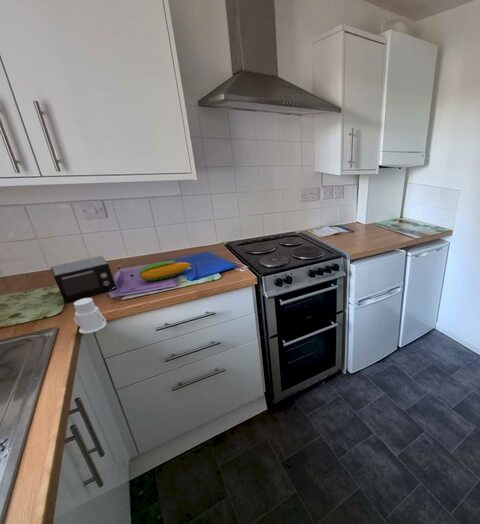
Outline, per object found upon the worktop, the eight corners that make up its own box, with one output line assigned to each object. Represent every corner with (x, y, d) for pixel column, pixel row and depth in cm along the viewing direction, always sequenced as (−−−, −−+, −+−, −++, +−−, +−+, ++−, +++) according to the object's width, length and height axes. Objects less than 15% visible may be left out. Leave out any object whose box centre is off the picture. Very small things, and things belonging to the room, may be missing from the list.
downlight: (72, 335, 94) (61, 308, 91) (85, 323, 101) (74, 297, 97) (101, 332, 96) (91, 305, 92) (112, 320, 102) (103, 294, 99)
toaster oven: (61, 293, 120) (49, 266, 115) (110, 280, 130) (101, 255, 126) (65, 304, 112) (53, 276, 107) (117, 290, 122) (108, 263, 118)
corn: (135, 264, 128) (186, 253, 140) (140, 279, 131) (189, 268, 143) (138, 270, 123) (191, 259, 135) (143, 286, 126) (194, 274, 138)
